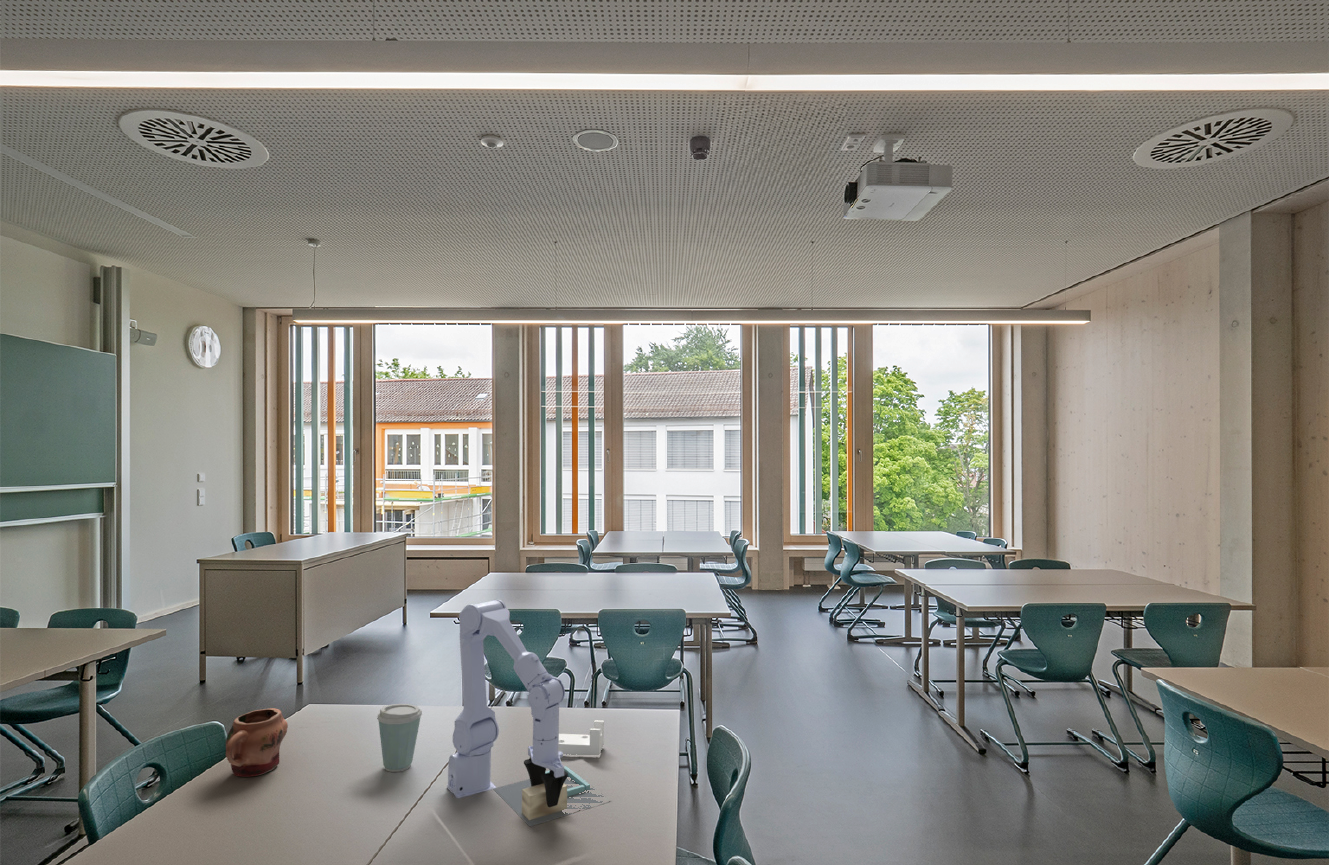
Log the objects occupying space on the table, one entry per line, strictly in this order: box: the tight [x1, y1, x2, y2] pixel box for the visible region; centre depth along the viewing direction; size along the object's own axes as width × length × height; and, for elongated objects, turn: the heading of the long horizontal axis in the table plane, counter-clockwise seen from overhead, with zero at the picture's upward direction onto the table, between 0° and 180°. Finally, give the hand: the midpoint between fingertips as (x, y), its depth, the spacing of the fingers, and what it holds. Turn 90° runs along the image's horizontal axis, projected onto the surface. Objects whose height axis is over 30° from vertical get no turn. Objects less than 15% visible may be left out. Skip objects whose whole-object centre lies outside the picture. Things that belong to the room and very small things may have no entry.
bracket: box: [559, 719, 605, 755], centre depth 188 cm, size 13×7×8 cm, turn 85°
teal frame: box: [545, 765, 591, 796], centre depth 167 cm, size 8×12×1 cm, turn 35°
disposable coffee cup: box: [377, 703, 423, 773], centre depth 177 cm, size 11×11×15 cm
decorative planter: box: [225, 707, 289, 778], centre depth 173 cm, size 20×12×14 cm, turn 2°
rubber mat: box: [493, 778, 605, 828], centre depth 161 cm, size 20×21×1 cm
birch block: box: [522, 784, 567, 820], centre depth 154 cm, size 9×4×5 cm, turn 125°
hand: (544, 798), depth 154 cm, fingers open, 7 cm apart
